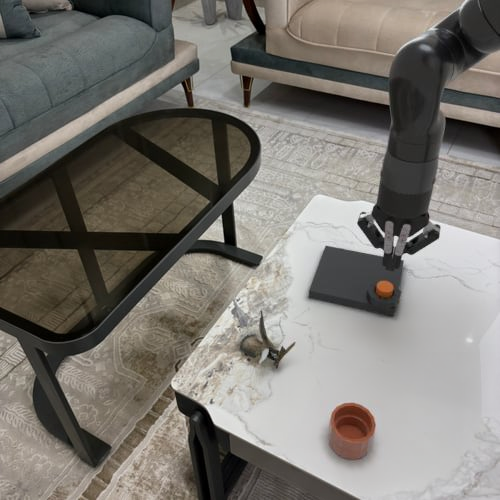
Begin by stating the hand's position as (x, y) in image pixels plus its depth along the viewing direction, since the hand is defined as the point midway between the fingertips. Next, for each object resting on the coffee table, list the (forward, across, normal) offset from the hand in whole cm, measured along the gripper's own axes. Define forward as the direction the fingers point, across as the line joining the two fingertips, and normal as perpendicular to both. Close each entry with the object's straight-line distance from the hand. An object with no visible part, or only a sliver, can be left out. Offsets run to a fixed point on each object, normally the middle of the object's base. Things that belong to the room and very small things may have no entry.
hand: (390, 267), depth 83 cm
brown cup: (+13, 0, +25) cm, 28 cm away
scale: (+13, +6, -8) cm, 16 cm away
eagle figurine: (+13, +18, +14) cm, 26 cm away
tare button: (+10, 0, -4) cm, 10 cm away
